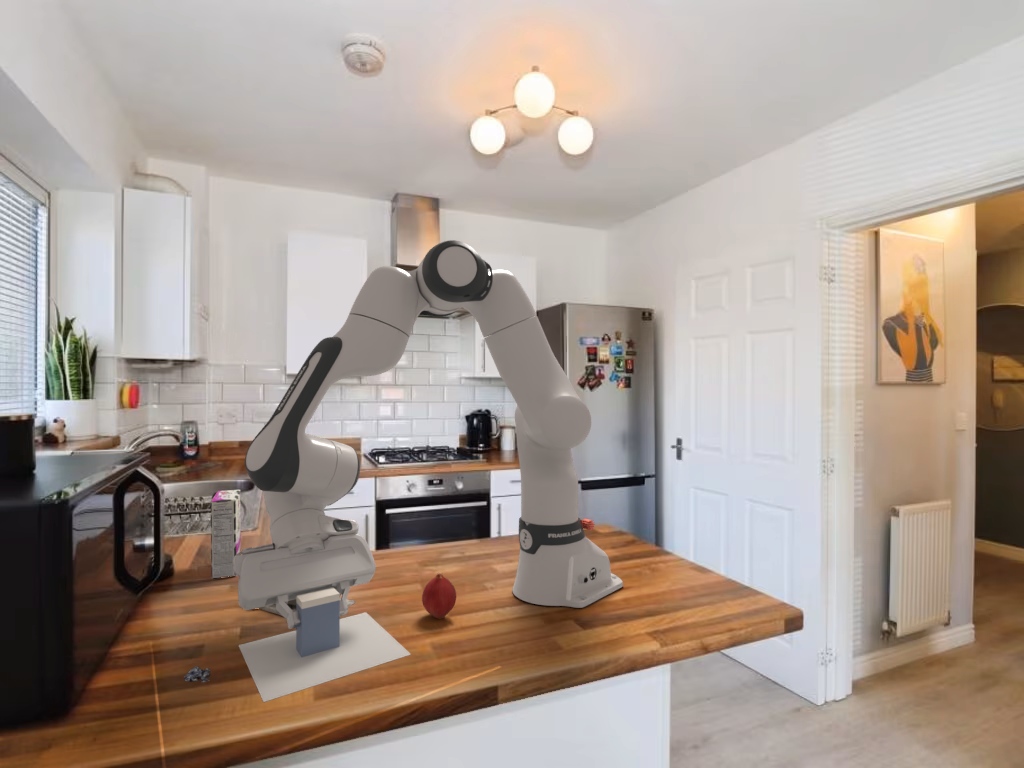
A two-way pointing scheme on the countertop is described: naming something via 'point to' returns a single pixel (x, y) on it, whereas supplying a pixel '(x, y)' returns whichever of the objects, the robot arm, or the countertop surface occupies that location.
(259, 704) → the countertop surface
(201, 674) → the blueberries
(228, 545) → the candy bar box
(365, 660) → the rubber mat
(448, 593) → the onion
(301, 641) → the card box
